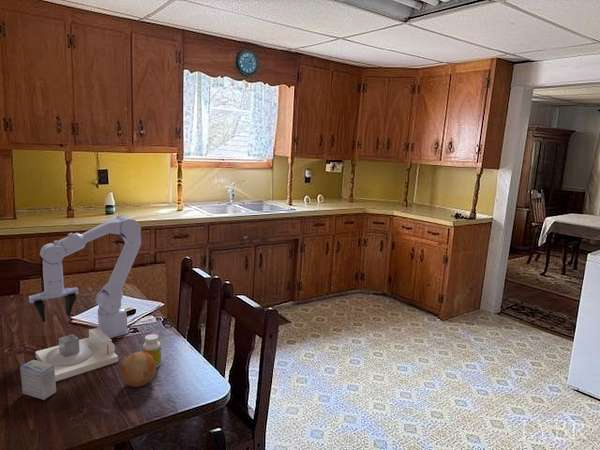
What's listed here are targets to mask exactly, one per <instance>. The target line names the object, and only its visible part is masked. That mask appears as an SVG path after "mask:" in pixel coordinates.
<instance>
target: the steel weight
mask: <svg viewBox="0 0 600 450" xmlns="http://www.w3.org/2000/svg"><path fill="white" fill-rule="evenodd" d="M79 340H80V338H79V337H78V336H76V335H75V334H73V333H70V334H68V335H65V336H61V337H58V345H59V353H61V354H62V355H63V356H64V357H68V356H71V355H74V354H77V353H80V350H79Z"/></svg>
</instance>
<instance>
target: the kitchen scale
mask: <svg viewBox="0 0 600 450" xmlns="http://www.w3.org/2000/svg"><path fill="white" fill-rule="evenodd" d="M112 341H113V340H112V338H109V337H108V336H107V335H106V334H105V333H103V332H102V331H101V330H100V329H99V328H98V327H95V328H91V329H88V337H86V338H82V339H79V350H80V353H77V354H74V355H71V356H68V357H64V356H63V355H62V354H61V353H59V344H58V345H55V346H51V347H48V348H44V349H39V350H37V351H35V358H36V360H37V361H41V362H45V363H48V364H52V365H54V369H55V381H56V382H58V381H59V382H60V381H62V380H65V379H68V378H72V377H74V376H78V375H81V374H83V373H87V372H91V371H93V370H96V369H99V368H103V367H105V366H109V365H112V364H116V363H118V362H119V355H117V354H116V353H115V350H116V346H115V344H114V343H113V342H112Z"/></svg>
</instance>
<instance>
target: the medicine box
mask: <svg viewBox="0 0 600 450" xmlns="http://www.w3.org/2000/svg"><path fill="white" fill-rule="evenodd" d="M19 370H20V379H21V380H20V382H21V389H22V394H23V395H26V396H29V397H33V398H36V399H40V400H43V401H44V400H46V399H47V398H49V397H51V396H53V395H54V394H55V393H57V381H55V369H54V365H52V364H48V363H45V362H41V361H38V360H37V359H31V360H30V361H28V362H25V363H23V364H22V365H21V366H20V367H19Z"/></svg>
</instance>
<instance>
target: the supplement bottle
mask: <svg viewBox="0 0 600 450" xmlns="http://www.w3.org/2000/svg"><path fill="white" fill-rule="evenodd" d="M161 347H162V345H161V342H160V341H159V335H158V334H153V333H151V334H147V335H145V337H144V343H143V345H142V351H144V352H147V353H149V354H150V355H151V356H152V357H153V359H154V361H155V364H156V368H158V367H160V366H161V363H162V357H161V355H162V351H161V349H162V348H161Z"/></svg>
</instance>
